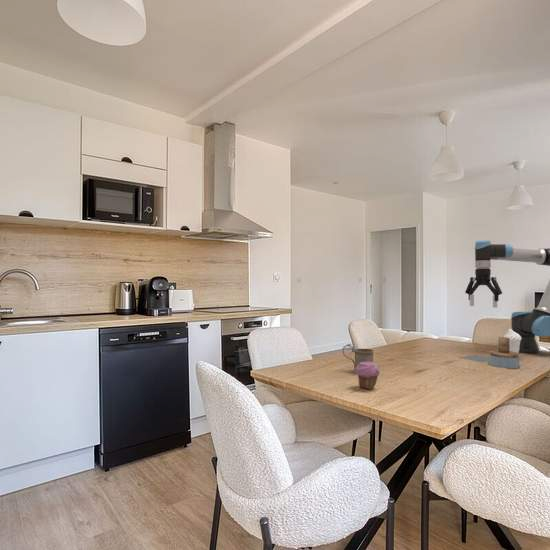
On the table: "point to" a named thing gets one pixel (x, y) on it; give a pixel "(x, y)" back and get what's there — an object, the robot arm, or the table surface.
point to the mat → (476, 358)
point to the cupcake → (367, 374)
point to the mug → (360, 356)
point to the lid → (504, 349)
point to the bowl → (504, 362)
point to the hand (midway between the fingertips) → (483, 306)
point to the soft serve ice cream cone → (513, 340)
